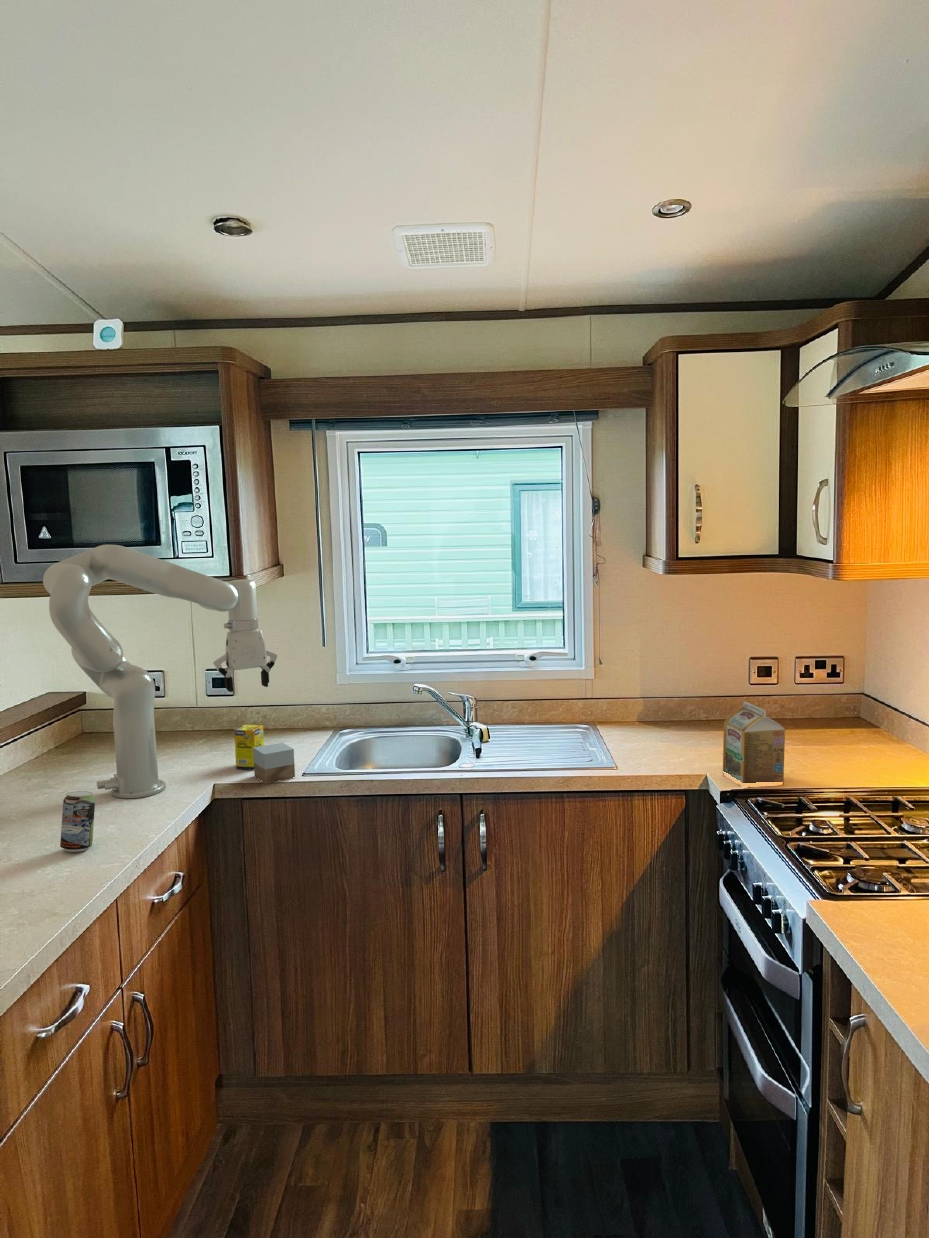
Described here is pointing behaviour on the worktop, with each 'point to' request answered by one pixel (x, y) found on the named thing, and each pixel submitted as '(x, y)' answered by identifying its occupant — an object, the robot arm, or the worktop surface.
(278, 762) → the slate block
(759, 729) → the milk carton
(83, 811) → the beverage can
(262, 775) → the walnut block
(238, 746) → the supplement box
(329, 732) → the worktop surface
